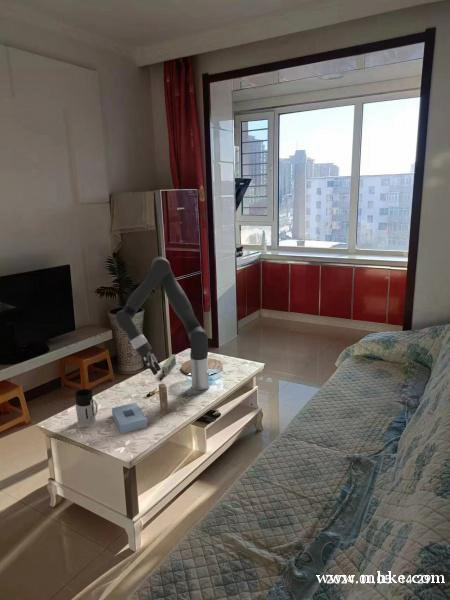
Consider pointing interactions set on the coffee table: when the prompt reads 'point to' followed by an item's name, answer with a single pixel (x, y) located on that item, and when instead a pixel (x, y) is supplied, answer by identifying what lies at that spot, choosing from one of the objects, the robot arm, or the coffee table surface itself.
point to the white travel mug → (85, 408)
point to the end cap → (129, 417)
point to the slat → (163, 398)
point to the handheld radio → (168, 366)
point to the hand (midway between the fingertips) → (157, 372)
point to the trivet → (211, 365)
